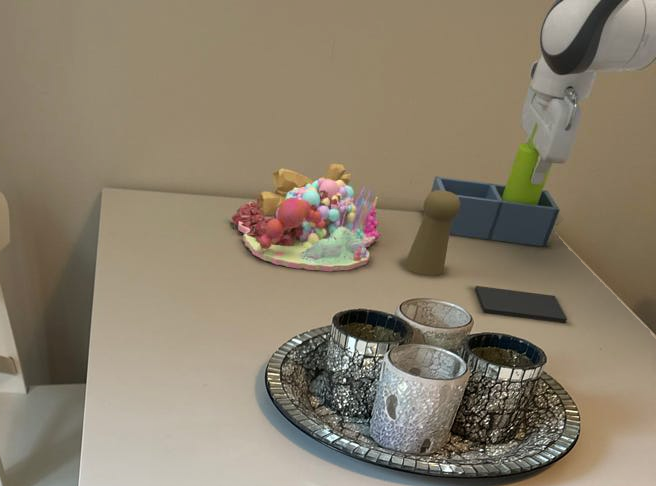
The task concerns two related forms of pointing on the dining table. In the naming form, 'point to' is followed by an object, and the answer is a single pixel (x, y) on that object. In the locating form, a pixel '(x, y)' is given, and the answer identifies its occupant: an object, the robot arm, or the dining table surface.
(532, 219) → the box
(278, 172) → the candy landscape model
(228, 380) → the dining table surface
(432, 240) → the olive game pawn
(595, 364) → the dining table surface
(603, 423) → the dining table surface
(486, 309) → the mat
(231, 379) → the dining table surface
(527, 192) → the soap dispenser
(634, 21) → the robot arm
